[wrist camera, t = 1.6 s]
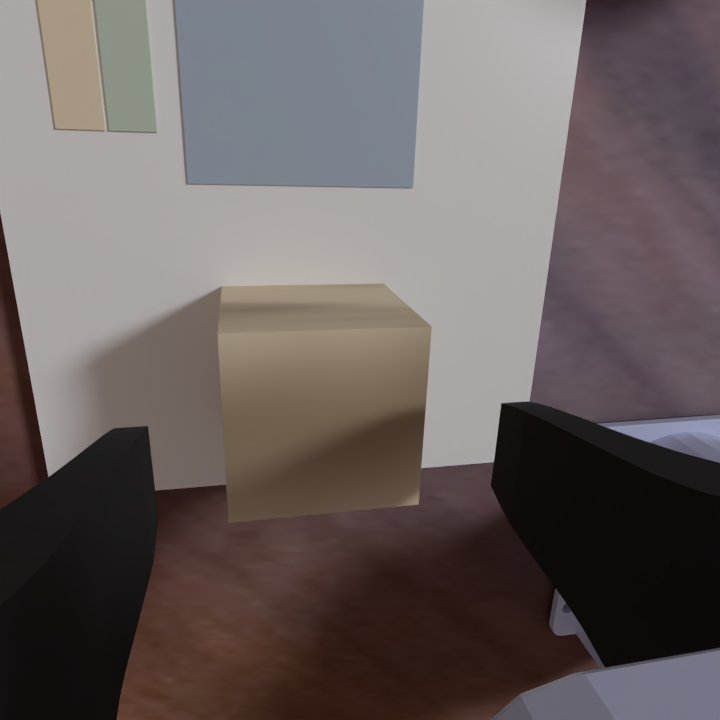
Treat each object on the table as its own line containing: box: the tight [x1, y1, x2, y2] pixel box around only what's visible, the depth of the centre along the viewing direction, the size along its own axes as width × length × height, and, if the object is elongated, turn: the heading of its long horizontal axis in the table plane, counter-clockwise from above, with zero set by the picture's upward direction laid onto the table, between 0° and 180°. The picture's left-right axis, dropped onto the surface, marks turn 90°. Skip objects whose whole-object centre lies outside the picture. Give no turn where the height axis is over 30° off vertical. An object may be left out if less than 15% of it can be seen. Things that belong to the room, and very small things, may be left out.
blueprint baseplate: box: [0, 0, 586, 491], centre depth 14 cm, size 24×15×1 cm, turn 178°
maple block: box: [217, 284, 432, 523], centre depth 15 cm, size 5×5×4 cm
